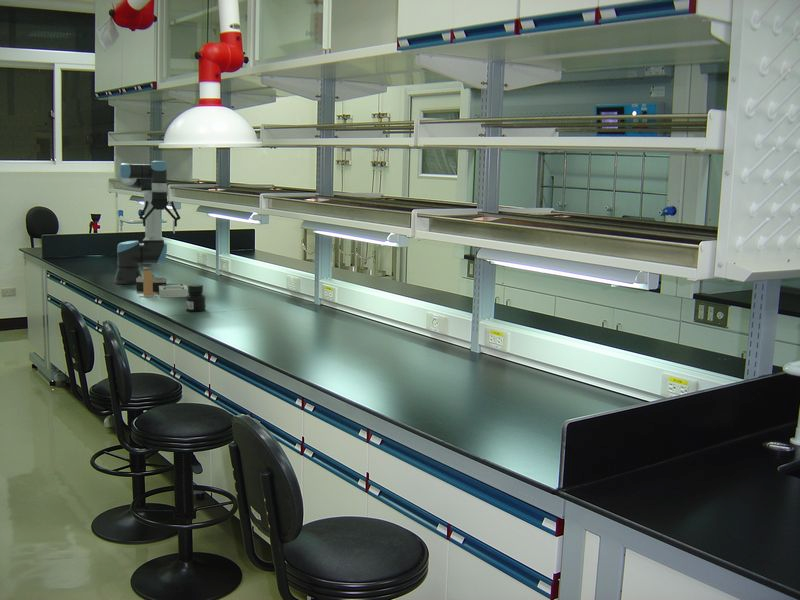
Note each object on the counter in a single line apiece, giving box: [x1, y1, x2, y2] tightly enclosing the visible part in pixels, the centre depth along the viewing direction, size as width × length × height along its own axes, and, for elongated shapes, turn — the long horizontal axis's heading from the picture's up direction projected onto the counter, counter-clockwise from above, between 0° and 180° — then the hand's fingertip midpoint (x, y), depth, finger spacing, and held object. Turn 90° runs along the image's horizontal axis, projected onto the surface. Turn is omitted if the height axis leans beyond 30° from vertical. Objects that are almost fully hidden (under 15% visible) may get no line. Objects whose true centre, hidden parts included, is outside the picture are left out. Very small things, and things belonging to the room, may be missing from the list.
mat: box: [138, 293, 159, 298], centre depth 415 cm, size 9×9×1 cm
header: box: [158, 283, 189, 298], centre depth 419 cm, size 14×14×5 cm
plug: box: [142, 266, 153, 296], centre depth 414 cm, size 5×5×14 cm
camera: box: [135, 274, 168, 294], centre depth 427 cm, size 16×9×10 cm, turn 91°
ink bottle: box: [185, 283, 206, 313], centre depth 378 cm, size 10×9×12 cm
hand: (160, 233), depth 416 cm, fingers open, 13 cm apart
